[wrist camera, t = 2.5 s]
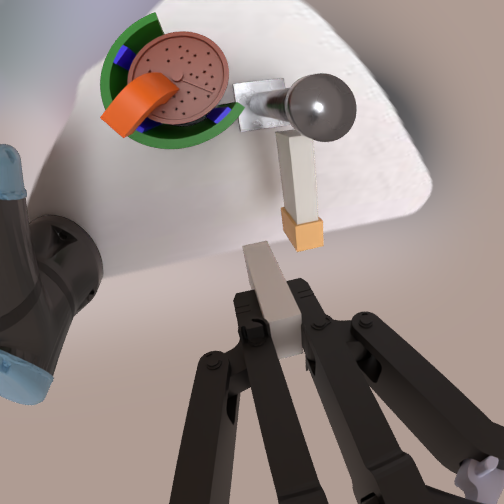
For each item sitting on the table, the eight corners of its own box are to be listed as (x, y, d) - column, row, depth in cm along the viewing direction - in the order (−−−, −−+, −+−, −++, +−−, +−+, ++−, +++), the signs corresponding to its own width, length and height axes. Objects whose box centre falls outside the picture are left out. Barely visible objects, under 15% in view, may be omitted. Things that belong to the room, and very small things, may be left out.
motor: (239, 87, 29) (294, 67, 12) (194, 146, 32) (191, 200, 15) (170, 44, 25) (137, -25, 8) (126, 105, 27) (42, 113, 10)
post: (240, 131, 32) (284, 160, 16) (232, 84, 29) (270, 63, 13) (287, 124, 32) (369, 149, 17) (281, 78, 29) (362, 62, 14)
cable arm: (298, 128, 24) (317, 134, 20) (306, 225, 30) (323, 245, 26) (271, 132, 24) (286, 138, 20) (283, 230, 29) (297, 252, 26)
